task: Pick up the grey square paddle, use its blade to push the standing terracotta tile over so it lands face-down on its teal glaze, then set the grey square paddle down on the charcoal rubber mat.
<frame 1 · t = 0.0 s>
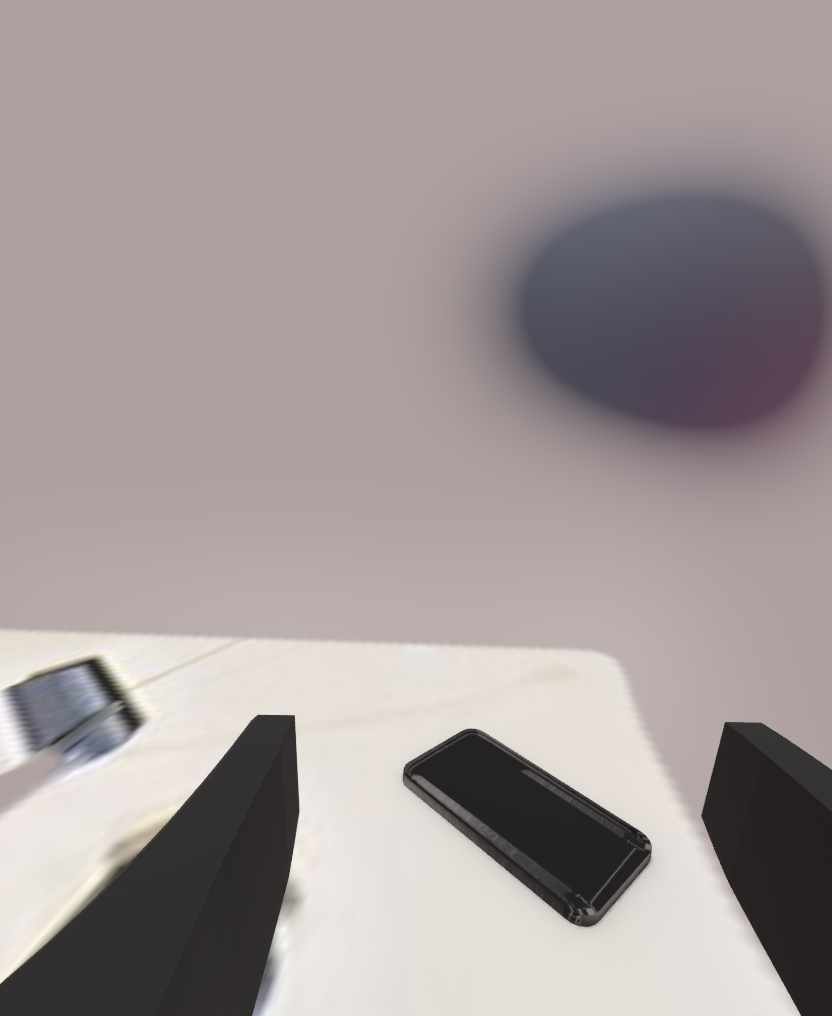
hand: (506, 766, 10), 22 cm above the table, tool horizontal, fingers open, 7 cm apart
phone: (517, 819, 38), on the table
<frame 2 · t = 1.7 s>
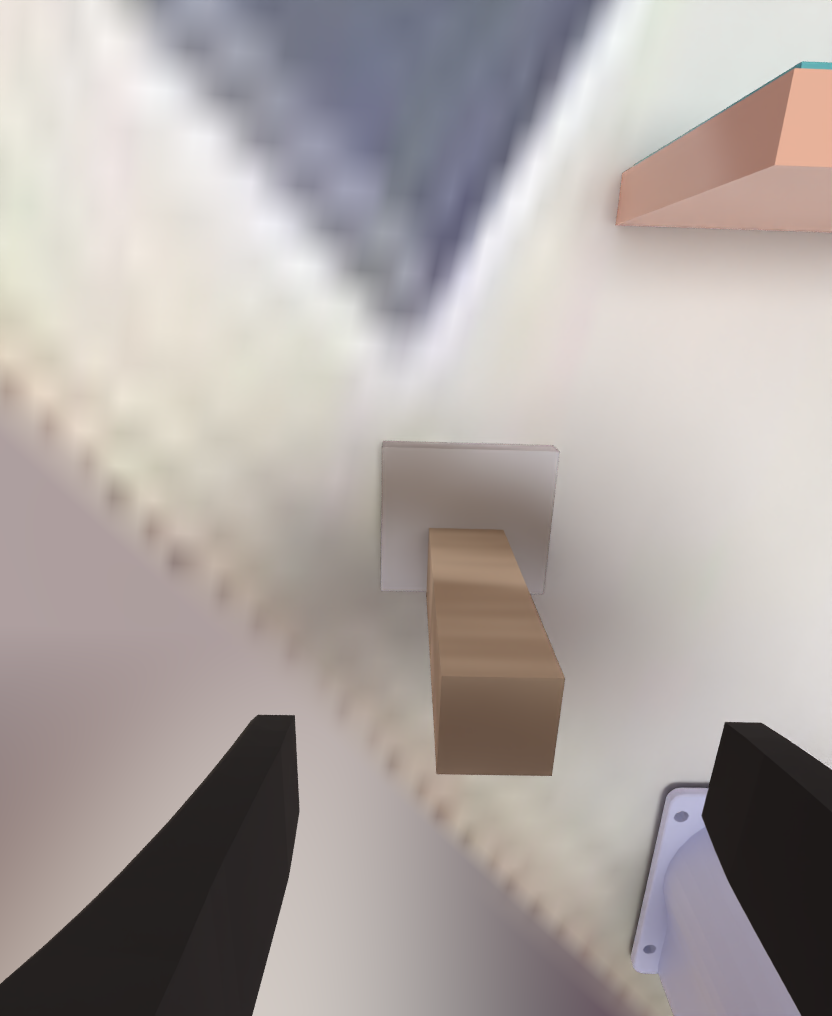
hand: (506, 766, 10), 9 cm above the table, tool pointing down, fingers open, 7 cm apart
tile: (752, 204, 15), on the table
grey square paddle: (461, 552, 18), on the table
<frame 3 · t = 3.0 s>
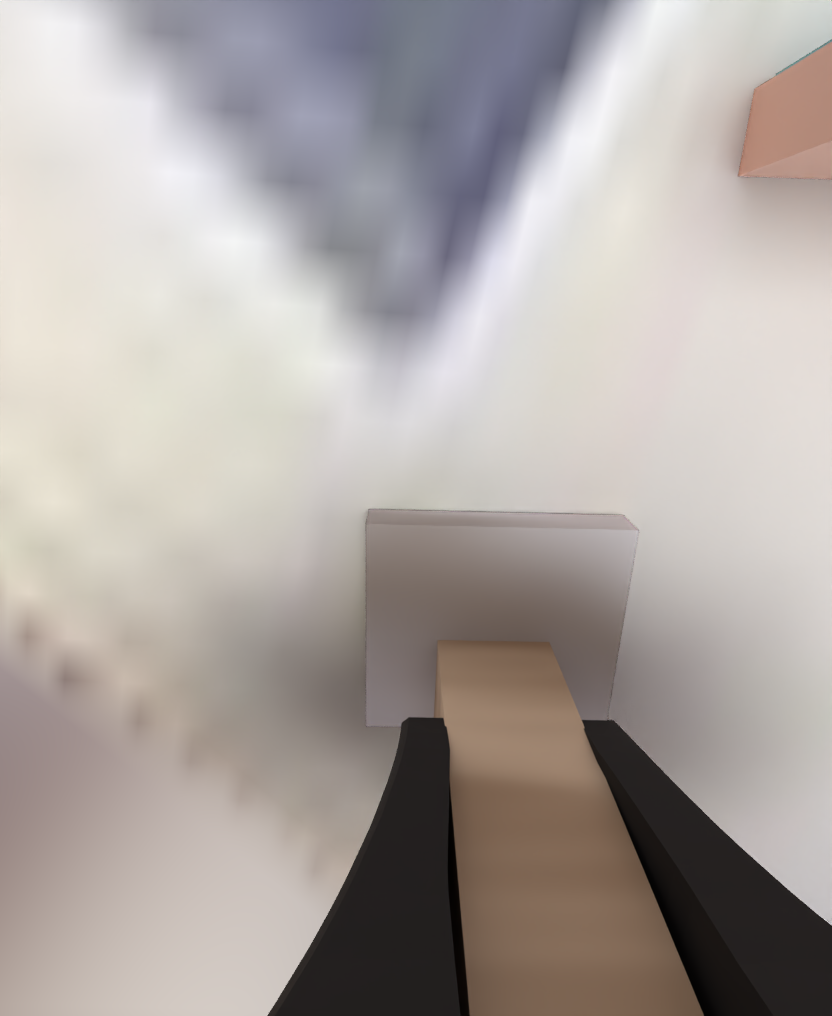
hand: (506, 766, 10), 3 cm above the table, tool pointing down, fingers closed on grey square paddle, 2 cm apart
grey square paddle: (484, 664, 12), on the table, touching gripper
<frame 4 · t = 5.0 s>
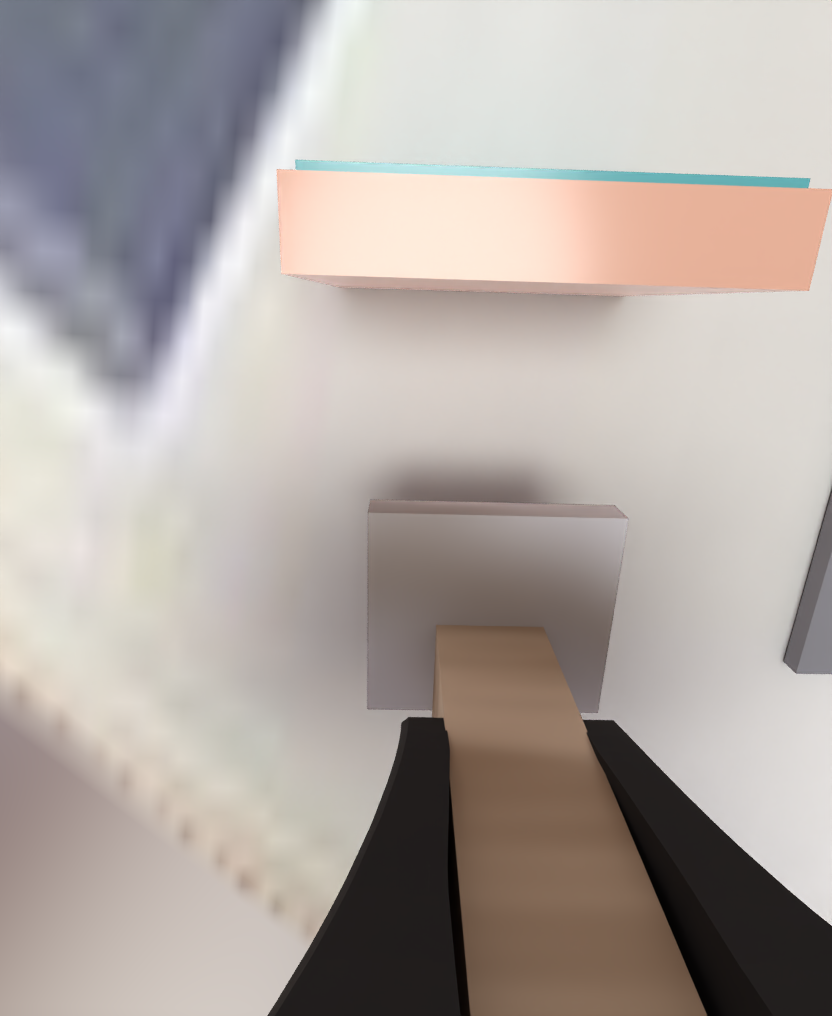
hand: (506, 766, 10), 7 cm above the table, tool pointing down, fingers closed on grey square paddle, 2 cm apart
tile: (484, 265, 14), on the table
grey square paddle: (481, 650, 13), point 4 cm above the table, touching gripper
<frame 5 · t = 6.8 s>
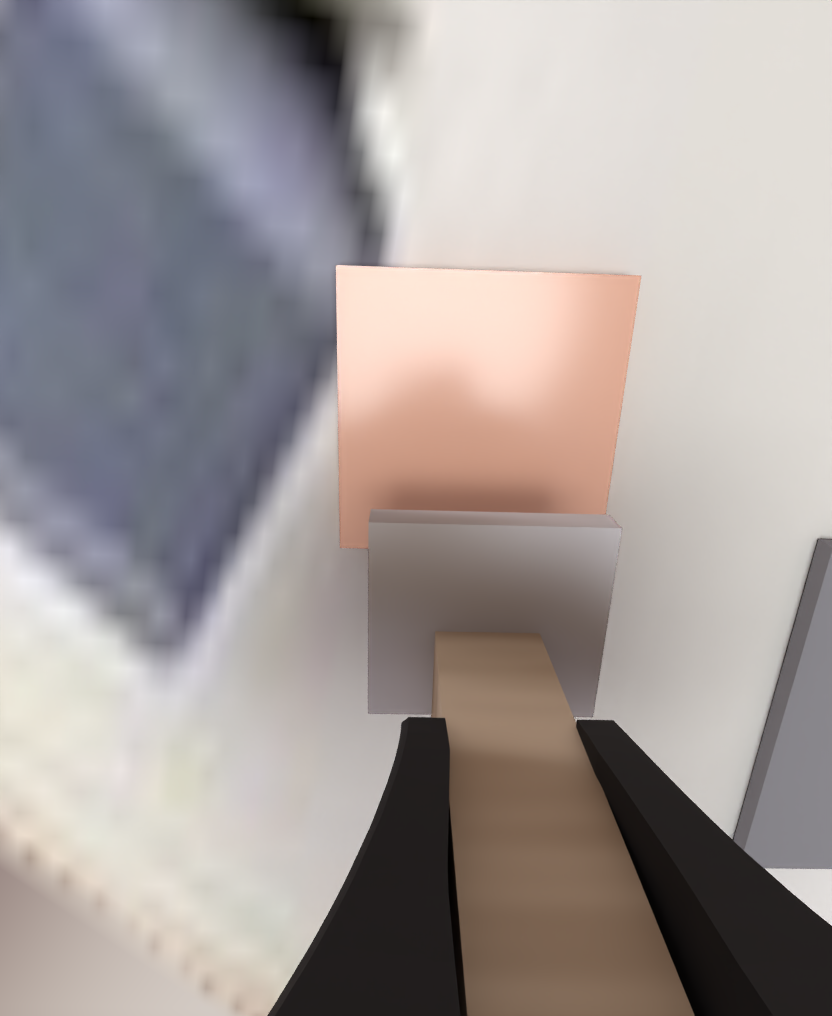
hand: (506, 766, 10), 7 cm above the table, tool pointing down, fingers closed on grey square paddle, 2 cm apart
tile: (468, 542, 16), on the table, tilted 90°
grey square paddle: (479, 655, 13), point 4 cm above the table, touching gripper
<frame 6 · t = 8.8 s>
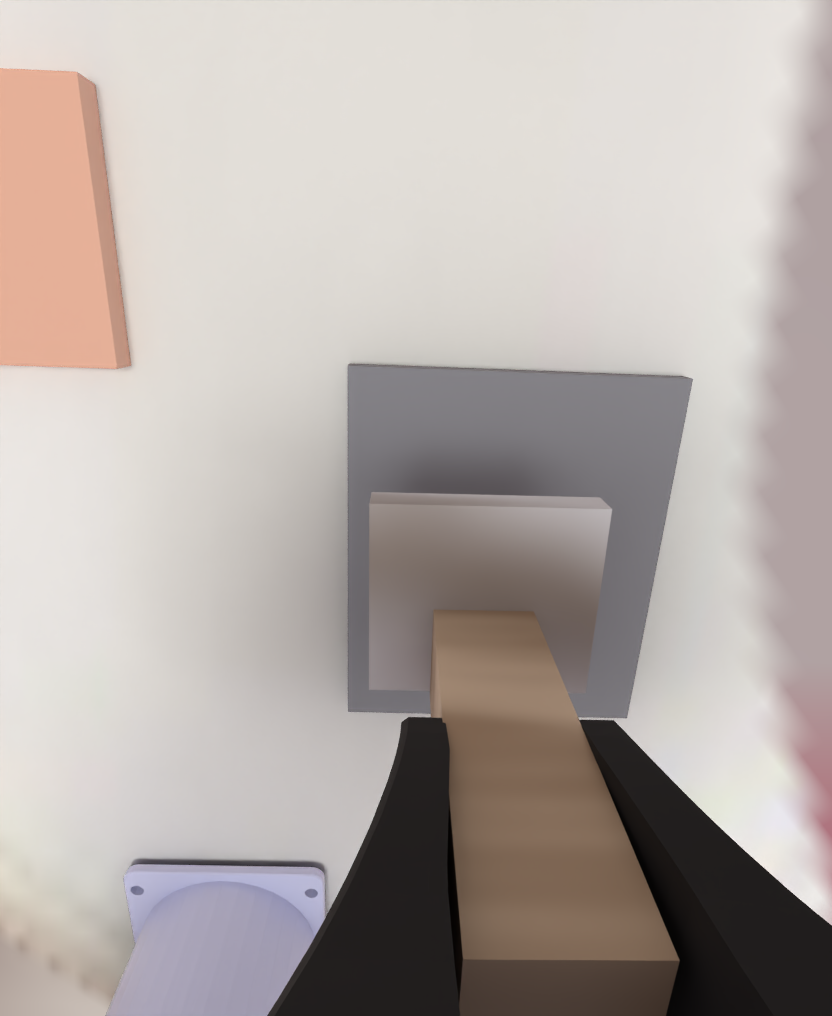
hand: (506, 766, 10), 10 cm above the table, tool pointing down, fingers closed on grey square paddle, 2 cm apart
tile: (4, 362, 17), on the table, tilted 90°
mat: (500, 554, 19), on the table
grey square paddle: (476, 635, 14), point 6 cm above the table, touching gripper
when the fingers open (4 cm above the table, at t = 10.2 s): grey square paddle stays where it is, resting on mat.
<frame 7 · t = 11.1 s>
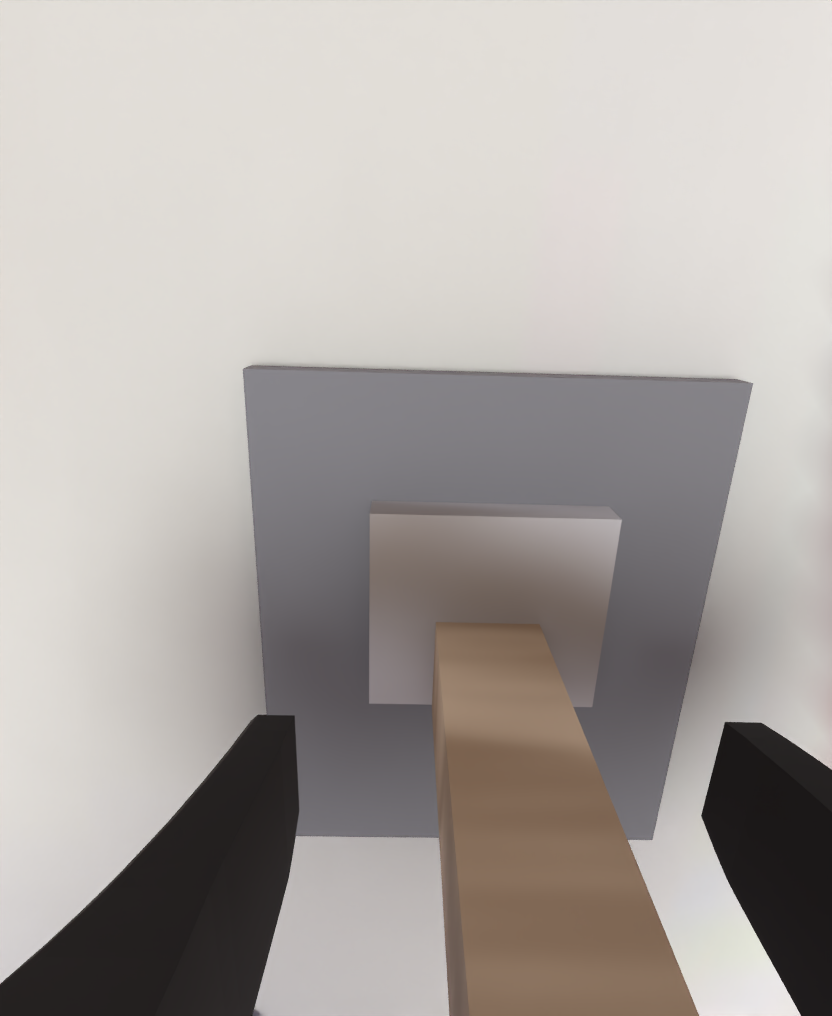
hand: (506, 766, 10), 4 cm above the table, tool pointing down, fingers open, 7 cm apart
mat: (477, 627, 14), on the table
grey square paddle: (479, 646, 13), point 1 cm above the table, touching mat
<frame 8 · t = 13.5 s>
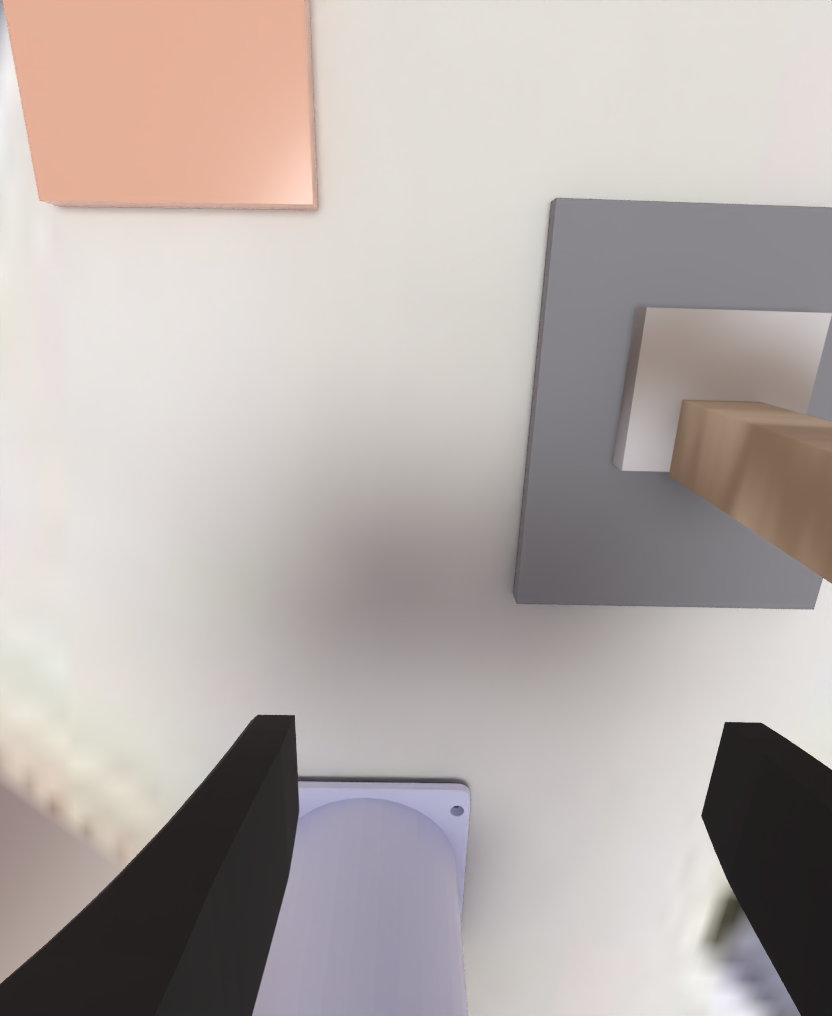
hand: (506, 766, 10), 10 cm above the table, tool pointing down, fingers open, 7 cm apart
tile: (185, 206, 15), on the table, tilted 90°
mat: (691, 424, 18), on the table
grey square paddle: (700, 433, 17), point 1 cm above the table, touching mat
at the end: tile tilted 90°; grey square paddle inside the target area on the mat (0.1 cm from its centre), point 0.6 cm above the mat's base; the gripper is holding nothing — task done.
